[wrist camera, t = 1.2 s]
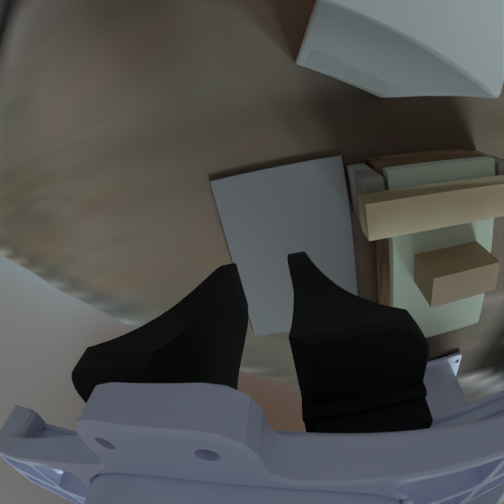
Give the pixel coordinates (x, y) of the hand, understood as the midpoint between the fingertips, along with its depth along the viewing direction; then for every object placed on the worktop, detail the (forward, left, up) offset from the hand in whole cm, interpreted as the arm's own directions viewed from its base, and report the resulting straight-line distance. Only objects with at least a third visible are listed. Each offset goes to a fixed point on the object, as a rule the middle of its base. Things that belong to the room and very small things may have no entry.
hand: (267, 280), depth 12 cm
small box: (+11, -8, -11) cm, 17 cm away
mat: (-4, -1, -10) cm, 11 cm away
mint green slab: (-4, -11, -7) cm, 14 cm away
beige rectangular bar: (0, -11, -6) cm, 12 cm away
